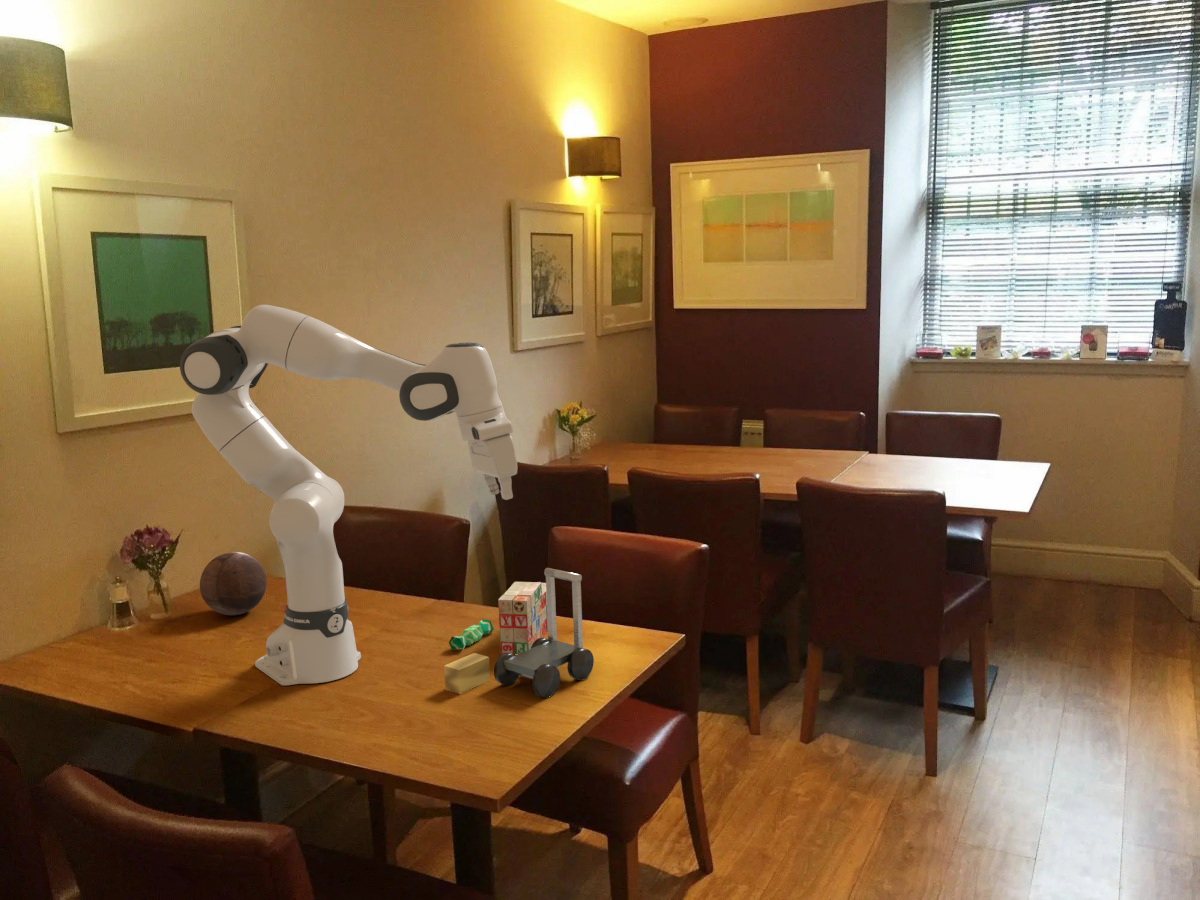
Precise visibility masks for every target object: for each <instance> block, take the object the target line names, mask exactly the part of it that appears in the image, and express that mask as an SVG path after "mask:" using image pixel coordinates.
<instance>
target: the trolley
mask: <svg viewBox="0 0 1200 900" xmlns="http://www.w3.org/2000/svg"><path fill="white" fill-rule="evenodd" d="M543 574H544V576H545V583H546V594H547V618H548V630H547V637H548V638H546V637H541V638H538V639H537V640H536V641H535V642H534V643H533V645H532V646H531V649H529V650H527V651H525V652H523V653H520V654H518V655H515V654H512V653H504V654H500V656H499V657H497V659H496V660H495V664H494V666H493V667H494V669H493V677H494V679H495V682H497V683H499V684H501V685H503V686H504V685H505V686H511V685H510V684H512V683H513V684H514V683H515V682H516V681H517V680H518V679H519V677H524V678H526V679H527V678H528V679H531V680H532V681H531V682H532V683H531V686H532V691H533V693H534V694H535V695H536V696H539V697H542V698H547V697H548V698H550V697H549V696H551V695H552V696H553V695H554V694H555V693H556V692H557V690H558V689H559V686H560V681H561V673H560V670H559V668H558V667H562V665H565V664H567V673H568V675H569V676H570V677H571V678H572V679H574V680H578V681H584V680H586V679H587V678H588V677H589V676H590V674H591V673H592V671H593V667H594V662H595V659H594V655H593V652H592V651H591V650H590V649H587V648H584V641H583V639H584V638H583V614H582V613H583V610H582V606H583V605H582V586H581V585H582V584H581V582H582V580H583V576H582V574H579V573H574V572H569V571H565V570H561V569H554V568H551V567H546V568H545V569H544V572H543ZM555 579H560V580H564V581H568V582H571V590H572V592H571V595H572V621H573V644H571V643H568V642H564V641H559V640H558V638H557V637H558V635H557V612H556V609H557V608H556V587H555V586H556V585H555V584H556V583H555ZM583 679H584V680H583ZM513 684H512V685H513ZM552 696H551V697H552ZM548 698H547V699H548Z"/></svg>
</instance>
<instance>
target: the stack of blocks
mask: <svg viewBox="0 0 1200 900" xmlns="http://www.w3.org/2000/svg"><path fill="white" fill-rule="evenodd" d="M497 600H498V601H497V602H498V624H499V625H498V626H499V636H500V641H499V646H500V655H502V654H504V653H512V654H520V653H523V652H525V651H527V650H529V649H531V646H532V645H533V643H534V642H535V641H536V640H537V639H538V638H541V637H542V638H544V636H545V634H546V633H547V632H548V618H547V594H546V582H541V581H537V582H536V581H535V582H533V581H532V582H531V581H514V582H513V583H512V584H511V586H510V587H509V588H508V589H507V590H506V591H505V592H504V593H503V594H502V595H501V596H500V597H499V598H498V599H497ZM545 632H546V633H545Z"/></svg>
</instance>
